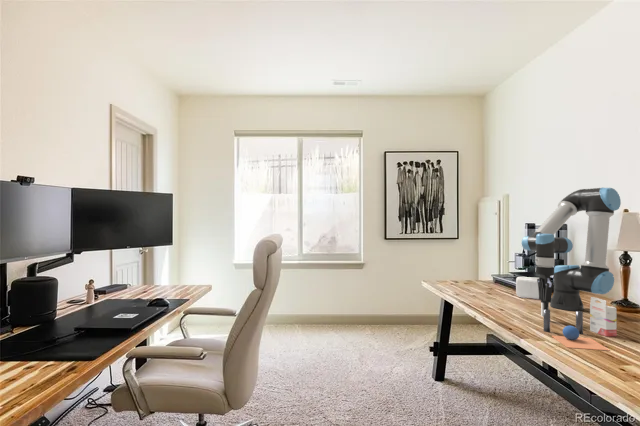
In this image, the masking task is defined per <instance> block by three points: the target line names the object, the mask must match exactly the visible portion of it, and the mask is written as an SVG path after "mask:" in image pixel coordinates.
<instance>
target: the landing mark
mask: <svg viewBox="0 0 640 426" xmlns="http://www.w3.org/2000/svg"><path fill="white" fill-rule="evenodd" d="M551 337H552V338H554V339H555V340H556V341H558V342H559V343H560V344H561V345H563V346H564V347H566V348H567V349H578V350H579V349H580V350H582V349H583V350H594V351H595V350H597V351H609V352H610V351H611V350H610V349H609V348H608V347H606V346H604V345H603V344H601V343H599V342H597V341H595V340H594V339H593V338H591V337H580V336H579V337H578V338H577V339H576V340H569V339H567V338H566V337H565V336H564V335H551Z"/></svg>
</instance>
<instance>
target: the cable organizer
mask: <svg viewBox="0 0 640 426" xmlns="http://www.w3.org/2000/svg"><path fill="white" fill-rule="evenodd" d="M537 279H539V277H530V276H529V277H527V276H517V277H516V278H515V292H516V293H515V295H516V296H517V297H520V298H521V299H527V298H528V299H533V300H540V299H539V291H538V282H537Z"/></svg>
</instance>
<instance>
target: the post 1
mask: <svg viewBox="0 0 640 426" xmlns="http://www.w3.org/2000/svg"><path fill="white" fill-rule="evenodd" d="M543 332H545V333H550V332H551V310H550V309H549V310H548V309H544V317H543Z"/></svg>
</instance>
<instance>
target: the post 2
mask: <svg viewBox="0 0 640 426" xmlns="http://www.w3.org/2000/svg"><path fill="white" fill-rule="evenodd" d="M583 315H584V311H582V310H581V311H575V327H576V328H577V329H578V331H579V335H583V334H584V316H583Z"/></svg>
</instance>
